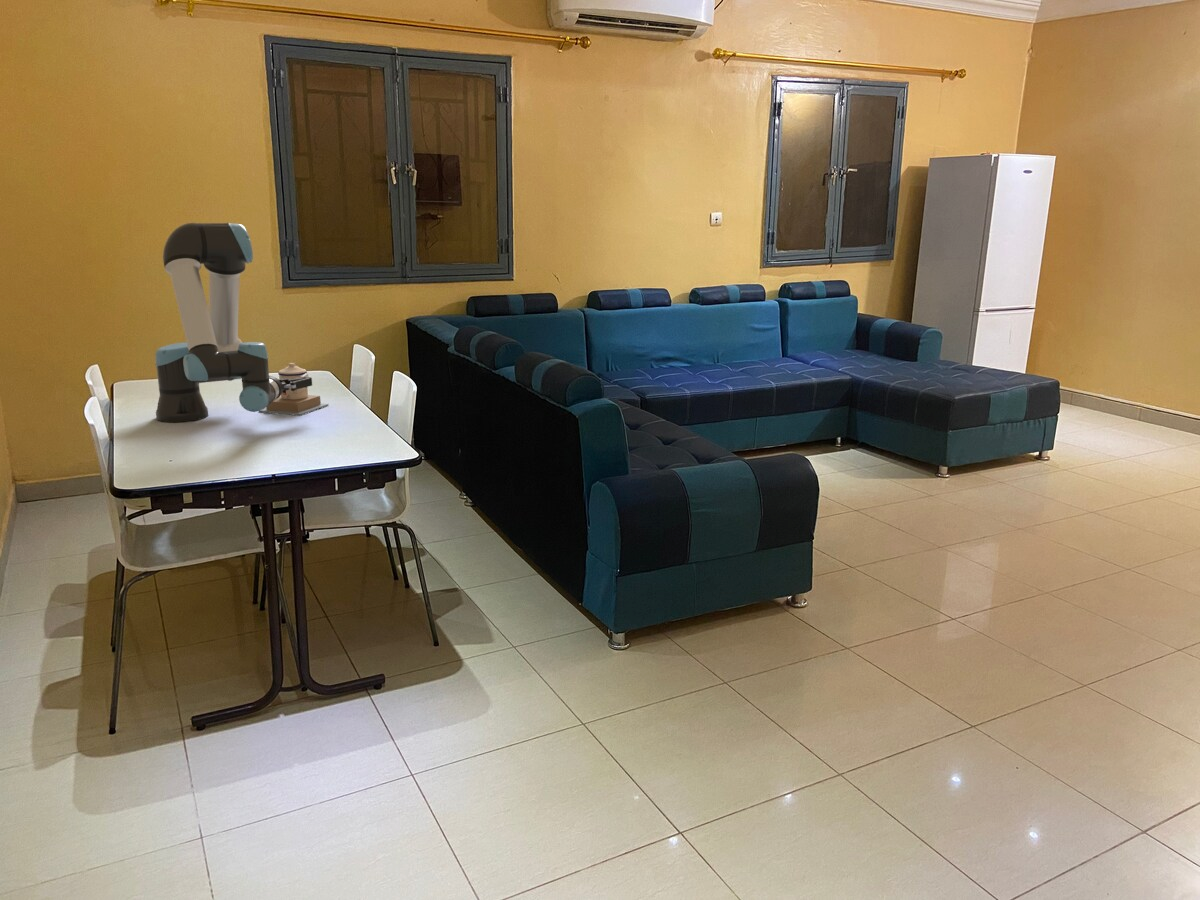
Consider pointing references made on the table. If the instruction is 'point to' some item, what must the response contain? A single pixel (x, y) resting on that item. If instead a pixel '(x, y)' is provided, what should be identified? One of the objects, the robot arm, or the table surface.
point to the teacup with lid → (293, 373)
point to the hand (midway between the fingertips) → (285, 377)
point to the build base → (294, 405)
